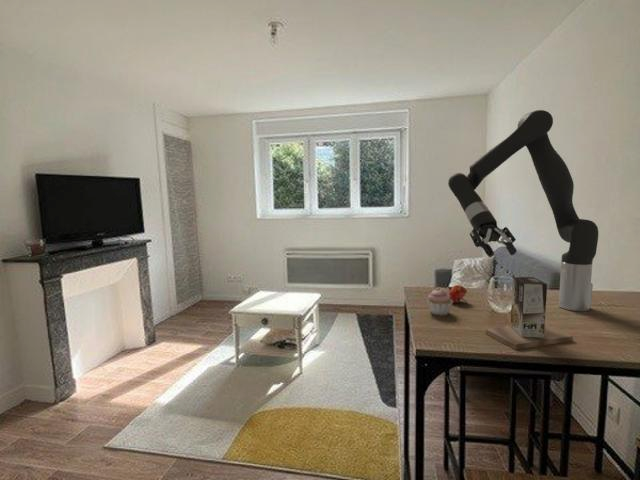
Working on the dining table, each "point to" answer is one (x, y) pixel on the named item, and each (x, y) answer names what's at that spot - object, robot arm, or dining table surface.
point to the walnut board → (519, 342)
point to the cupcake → (439, 302)
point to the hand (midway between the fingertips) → (503, 254)
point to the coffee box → (528, 306)
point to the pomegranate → (456, 293)
